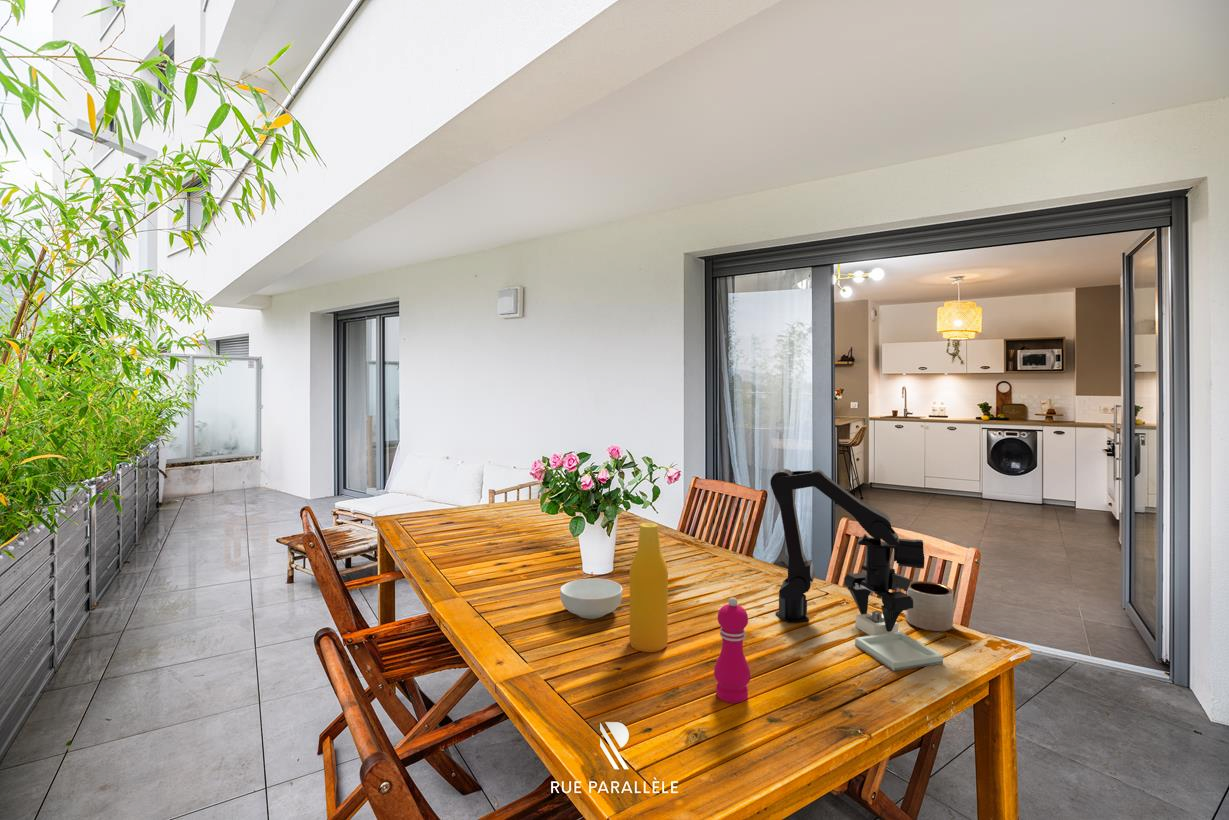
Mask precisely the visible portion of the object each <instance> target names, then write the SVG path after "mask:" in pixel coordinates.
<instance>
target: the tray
mask: <svg viewBox="0 0 1229 820" xmlns="http://www.w3.org/2000/svg"><path fill="white" fill-rule="evenodd" d="M854 646H856V647H858V648H859V649H860V650H861V651H863V652H865V654H868V655H869V656H870V657H872V658H873V659H875V660H877V662H879V663H881V664H883V665H884V666H885V667H887V668H888V669H890V670H892V671H893V672H898V671H902V670H903V671H904V670H910V669H916V668H922V667H929V666H936V665H942V664H944V655H942V654H941V653H939V652H937V651H935V650H934V649H932V648H930V647H929V646H927V645H925V644H923V643H921V642H919V640H916V639H915V638H912V637H911V636H910V635H907V634H906V633H904V632H902V631H898V632H894V633H887V634H879V635H872V636H870V635H865V636H859V637H855V639H854Z"/></svg>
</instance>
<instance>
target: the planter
mask: <svg viewBox="0 0 1229 820" xmlns="http://www.w3.org/2000/svg"><path fill="white" fill-rule="evenodd" d="M905 594H907V595H909V596H911V597H912V599H913V608H911V609H908V610H905V620H906V622H907V623H908V624H910V625H911V626H913V627H914V626H915V628H917V629H919V628H920V629H919V630H923V631H927V632H935V633H939V632H941V633H943V632H947V631H950V630H951V629H952V628H953V626H954V590H953V588H951V587H949V586H947V585H944V584H942V583H938V582H931V581H927V580H926V581H923V580H917V581H910V584H909V588H908V591H906V593H905Z"/></svg>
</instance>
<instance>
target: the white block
mask: <svg viewBox="0 0 1229 820" xmlns="http://www.w3.org/2000/svg"><path fill="white" fill-rule="evenodd" d="M881 614H882V620H881V622H880V623H874V622H873V621H872V612H871V613H867V614H861V613H860V614H856V615H855V628H857V629H858V630H860V631H862V632H863V633H865V634H867V636H872V635H879V634H887V633H894V632H899V622H897V621H896V622H895V625H894V627H893V629H892V631H891V632H888V631H887V630H886V626H885V622H884V617H883V613H881Z"/></svg>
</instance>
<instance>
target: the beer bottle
mask: <svg viewBox="0 0 1229 820" xmlns="http://www.w3.org/2000/svg"><path fill="white" fill-rule="evenodd" d="M638 532H639V534H638V542H637V548H636V552H635V554H634V556H633V558H632V561H631V564H630V568H629V630H628V631H629V632H628V633H629V634H628V637H629V638H628V639H629V643H630V646H631V647H632V648H633V649H634V650H637V651H639V652H643V653H656V652H659V651H663V649H665V648H667V645H668V641H669V632H668V631H669V630H668V629H669V628H668V626H669V624H668V623H669V622H668V621H669V619H668V617H669V612H668V611H669V610H668V609H669V607H668V606H669V595H668V594H669V590H668V589H669V587H668V586H669V571H668V570H669V569H668V564H667V562H666V560H665V558H664V555H663V553H662V551H661V550H662V549H661V544H660V535H659V525H658V524H657V523H655V522H643V523H640V524H639V531H638Z"/></svg>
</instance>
